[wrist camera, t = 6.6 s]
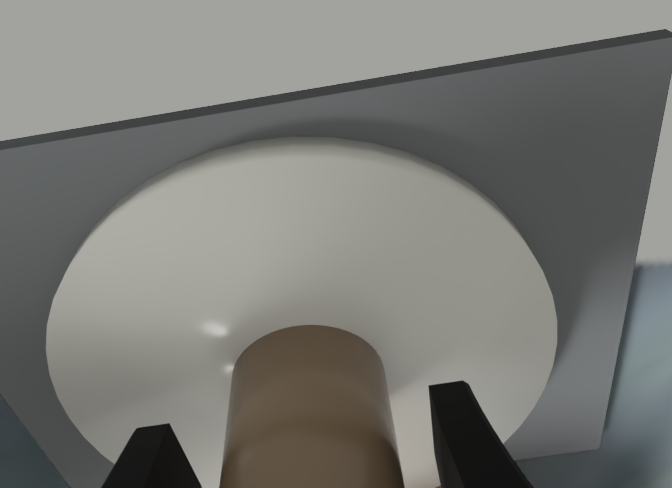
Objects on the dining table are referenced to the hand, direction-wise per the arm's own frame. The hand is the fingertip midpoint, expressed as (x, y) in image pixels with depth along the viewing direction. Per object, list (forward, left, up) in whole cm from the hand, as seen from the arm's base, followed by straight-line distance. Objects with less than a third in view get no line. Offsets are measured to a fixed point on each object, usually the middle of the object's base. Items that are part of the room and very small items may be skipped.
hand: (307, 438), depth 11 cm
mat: (0, 0, -3) cm, 3 cm away
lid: (0, 0, -2) cm, 2 cm away
